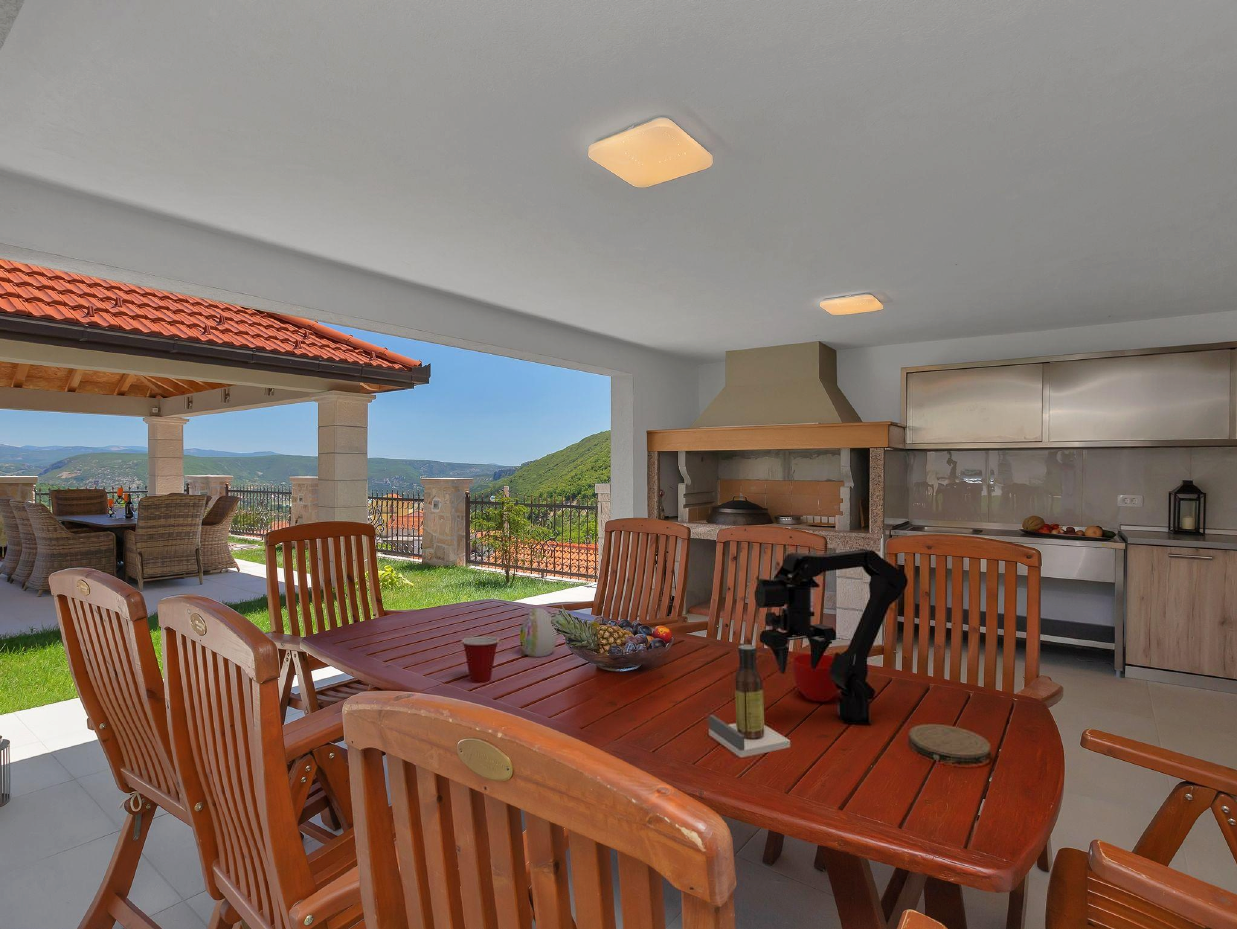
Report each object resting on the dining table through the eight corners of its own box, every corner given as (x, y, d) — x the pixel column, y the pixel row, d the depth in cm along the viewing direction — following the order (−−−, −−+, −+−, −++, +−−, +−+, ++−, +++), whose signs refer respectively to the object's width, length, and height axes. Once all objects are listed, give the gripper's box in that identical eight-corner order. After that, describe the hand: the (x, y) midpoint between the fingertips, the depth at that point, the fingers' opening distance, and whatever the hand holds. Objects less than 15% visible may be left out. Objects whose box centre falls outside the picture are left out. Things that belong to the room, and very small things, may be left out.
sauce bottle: (767, 732, 149) (767, 645, 149) (759, 742, 143) (759, 652, 143) (740, 726, 152) (740, 641, 152) (731, 736, 147) (730, 648, 147)
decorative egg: (517, 650, 220) (517, 605, 220) (552, 647, 224) (552, 603, 224) (523, 660, 209) (523, 613, 209) (560, 657, 212) (560, 611, 212)
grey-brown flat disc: (919, 731, 154) (919, 718, 154) (996, 749, 144) (996, 736, 144) (900, 755, 141) (900, 741, 141) (983, 777, 131) (983, 762, 131)
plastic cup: (504, 674, 195) (504, 634, 195) (493, 686, 185) (493, 644, 185) (468, 673, 196) (468, 633, 196) (456, 685, 186) (456, 643, 186)
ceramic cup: (862, 709, 167) (862, 670, 167) (794, 704, 170) (794, 666, 170) (854, 692, 179) (854, 655, 179) (791, 687, 183) (791, 652, 183)
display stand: (755, 725, 156) (755, 706, 156) (790, 747, 144) (790, 727, 144) (708, 734, 151) (708, 715, 151) (740, 757, 139) (740, 736, 139)
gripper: (807, 596, 168) (806, 657, 168) (746, 602, 160) (746, 666, 160) (837, 605, 158) (837, 670, 158) (774, 612, 150) (774, 679, 150)
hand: (798, 671), depth 157 cm, fingers open, 9 cm apart
